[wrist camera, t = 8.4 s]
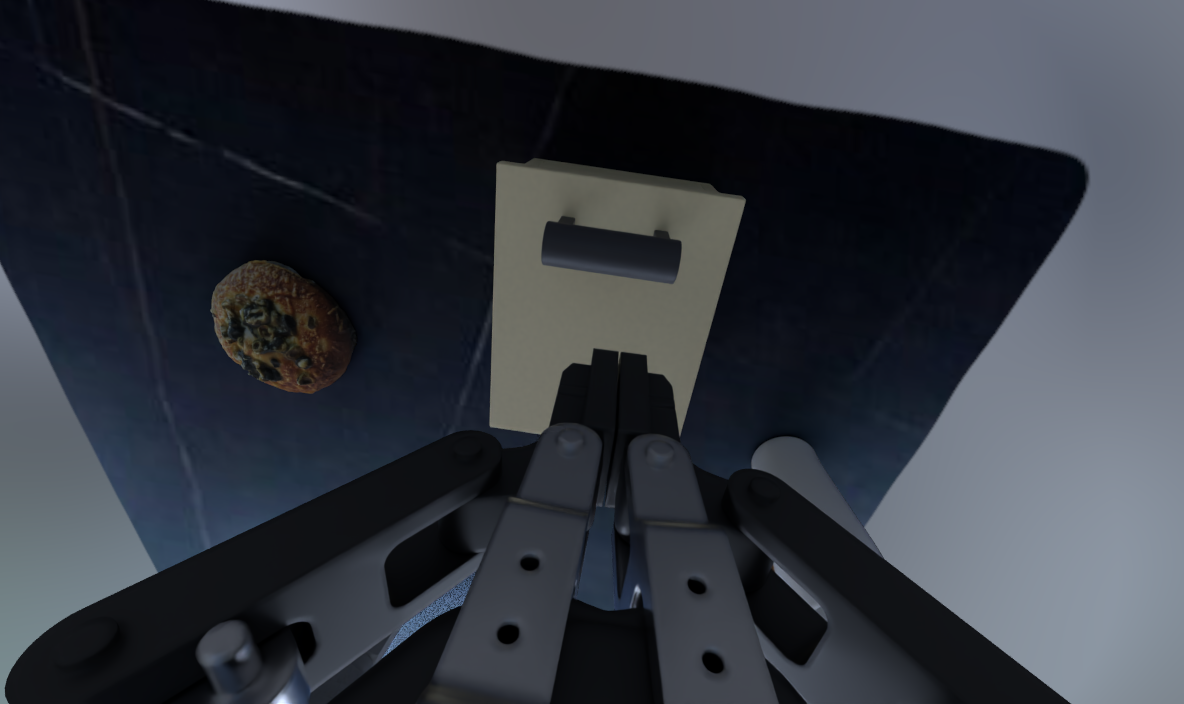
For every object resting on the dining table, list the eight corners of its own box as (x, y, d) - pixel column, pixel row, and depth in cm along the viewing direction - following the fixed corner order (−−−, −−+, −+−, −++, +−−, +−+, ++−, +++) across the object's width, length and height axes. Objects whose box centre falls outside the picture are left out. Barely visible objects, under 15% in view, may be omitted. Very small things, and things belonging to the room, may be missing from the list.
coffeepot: (419, 573, 52) (325, 781, 36) (436, 624, 56) (360, 829, 40) (289, 568, 53) (144, 767, 37) (316, 619, 58) (197, 815, 42)
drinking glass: (838, 439, 39) (944, 613, 26) (796, 494, 42) (871, 673, 29) (764, 416, 38) (833, 580, 25) (727, 473, 42) (772, 646, 28)
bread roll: (382, 371, 39) (342, 404, 34) (285, 386, 42) (236, 418, 38) (315, 241, 34) (259, 261, 30) (212, 270, 38) (147, 292, 33)
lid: (500, 160, 22) (465, 177, 17) (742, 196, 22) (773, 222, 17) (492, 419, 29) (466, 480, 25) (674, 446, 29) (682, 513, 25)
